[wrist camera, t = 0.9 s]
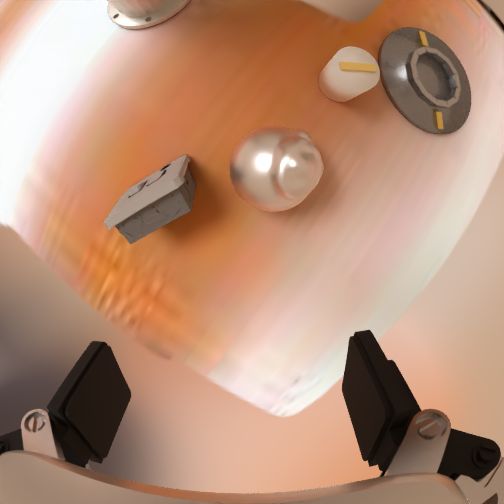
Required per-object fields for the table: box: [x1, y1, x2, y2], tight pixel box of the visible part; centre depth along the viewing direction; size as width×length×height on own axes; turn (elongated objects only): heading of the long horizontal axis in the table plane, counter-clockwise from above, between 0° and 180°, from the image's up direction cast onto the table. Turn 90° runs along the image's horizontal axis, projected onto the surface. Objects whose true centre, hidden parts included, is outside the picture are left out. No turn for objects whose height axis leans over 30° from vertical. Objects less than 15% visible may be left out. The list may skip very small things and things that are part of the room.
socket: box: [378, 27, 471, 134], centre depth 26 cm, size 16×16×2 cm
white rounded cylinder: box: [318, 46, 380, 102], centre depth 24 cm, size 5×5×8 cm
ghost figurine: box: [229, 126, 324, 212], centre depth 27 cm, size 9×10×10 cm
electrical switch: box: [104, 154, 196, 244], centre depth 29 cm, size 9×5×9 cm, turn 116°
